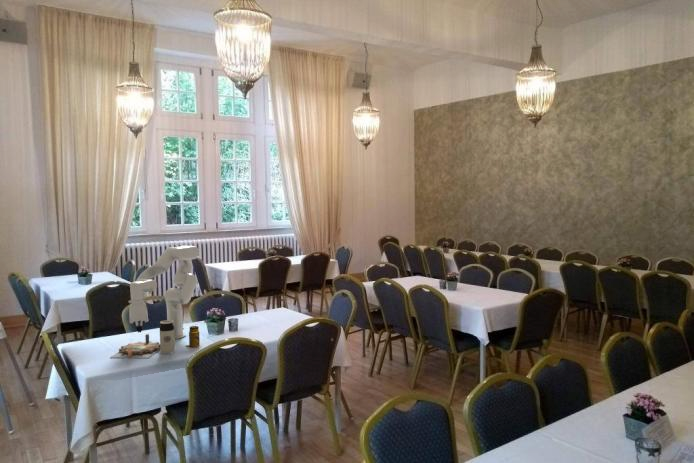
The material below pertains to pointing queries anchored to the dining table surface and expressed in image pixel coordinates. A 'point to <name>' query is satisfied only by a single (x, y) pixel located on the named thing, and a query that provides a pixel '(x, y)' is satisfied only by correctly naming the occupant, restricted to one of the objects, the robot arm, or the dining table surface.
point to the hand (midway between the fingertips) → (139, 331)
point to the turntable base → (130, 355)
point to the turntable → (141, 347)
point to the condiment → (193, 337)
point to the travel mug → (167, 337)
